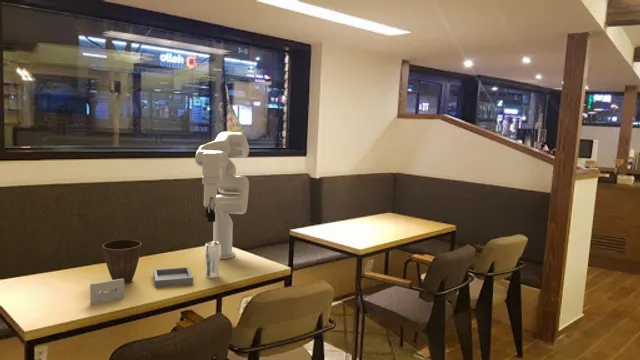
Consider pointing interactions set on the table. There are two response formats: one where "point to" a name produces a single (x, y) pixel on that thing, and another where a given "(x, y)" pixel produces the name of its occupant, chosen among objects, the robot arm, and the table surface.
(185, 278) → the serving tray
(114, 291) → the cassette
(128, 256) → the plant pot
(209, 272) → the beer glass
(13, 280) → the table surface
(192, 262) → the table surface
